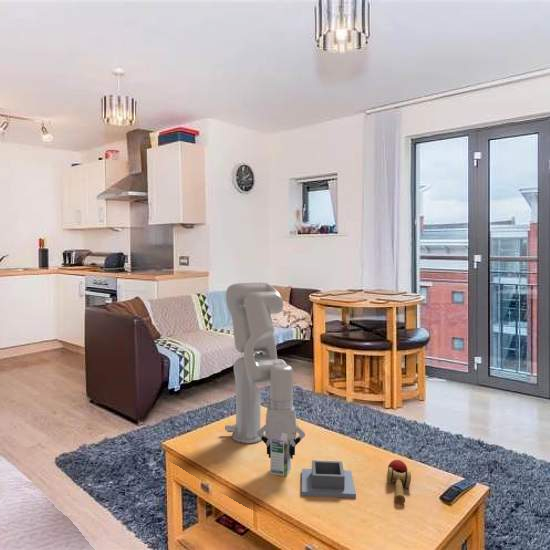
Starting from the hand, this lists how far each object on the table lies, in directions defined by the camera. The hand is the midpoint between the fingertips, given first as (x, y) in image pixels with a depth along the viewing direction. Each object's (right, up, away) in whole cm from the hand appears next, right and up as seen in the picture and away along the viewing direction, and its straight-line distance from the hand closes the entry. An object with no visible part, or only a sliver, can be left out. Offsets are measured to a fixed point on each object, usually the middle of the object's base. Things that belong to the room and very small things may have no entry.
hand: (280, 456), depth 148 cm
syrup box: (0, -5, 0) cm, 5 cm away
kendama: (+36, -6, -10) cm, 38 cm away
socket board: (+14, -6, -8) cm, 17 cm away
